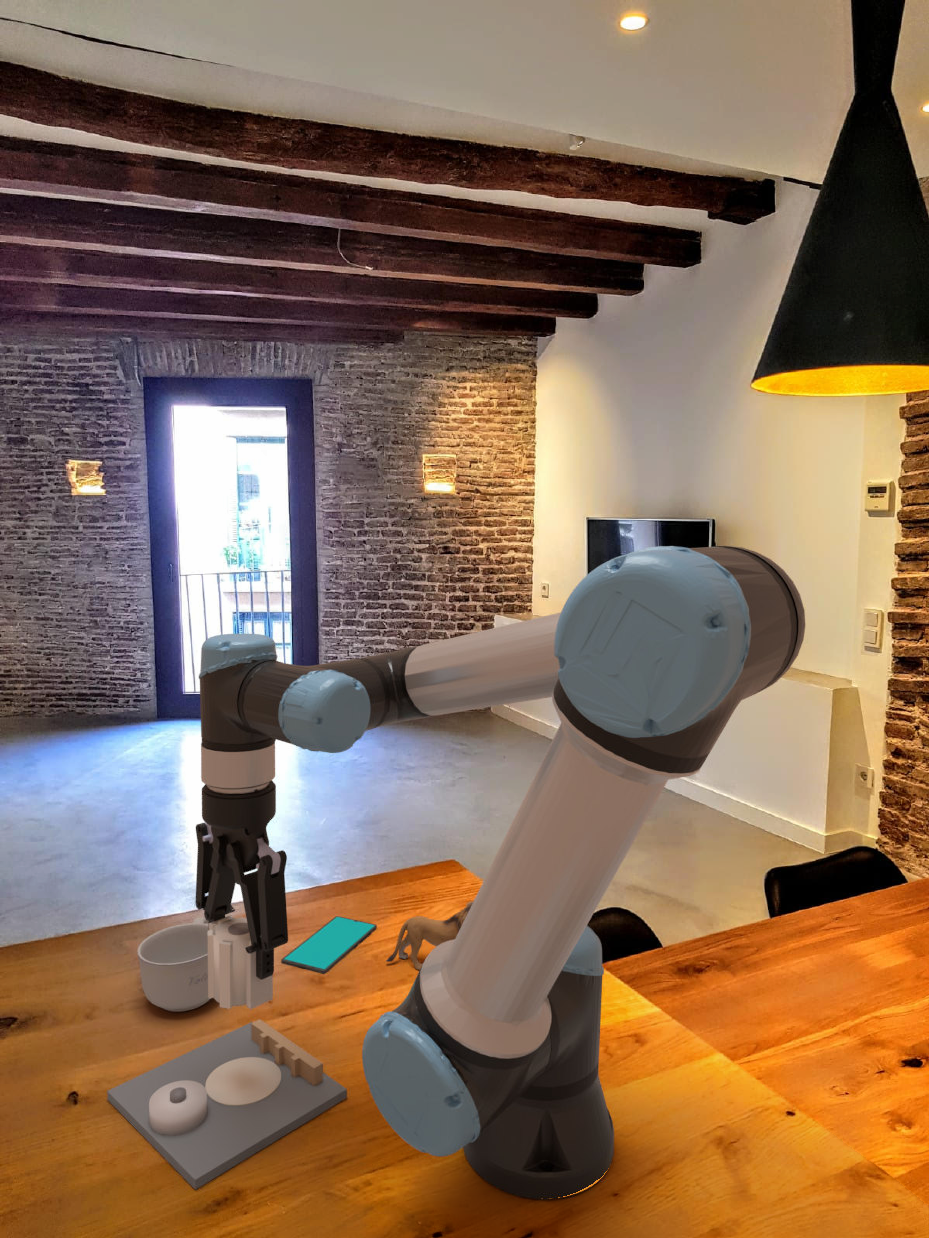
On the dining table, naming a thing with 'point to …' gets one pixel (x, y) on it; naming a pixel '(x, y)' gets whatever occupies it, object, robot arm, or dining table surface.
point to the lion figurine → (427, 933)
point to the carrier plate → (226, 1100)
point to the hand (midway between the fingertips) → (240, 988)
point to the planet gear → (228, 962)
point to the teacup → (176, 966)
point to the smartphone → (329, 944)
